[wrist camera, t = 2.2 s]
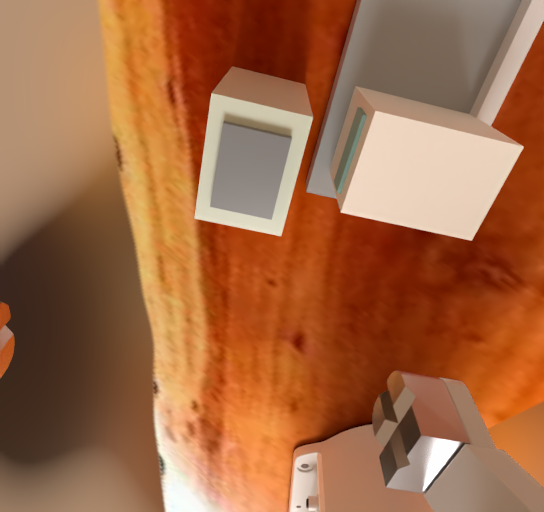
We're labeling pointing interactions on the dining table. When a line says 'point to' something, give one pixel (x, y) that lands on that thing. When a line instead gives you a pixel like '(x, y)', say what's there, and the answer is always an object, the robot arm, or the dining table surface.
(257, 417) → the dining table surface
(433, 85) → the rail board
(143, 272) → the dining table surface
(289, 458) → the dining table surface
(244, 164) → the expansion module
